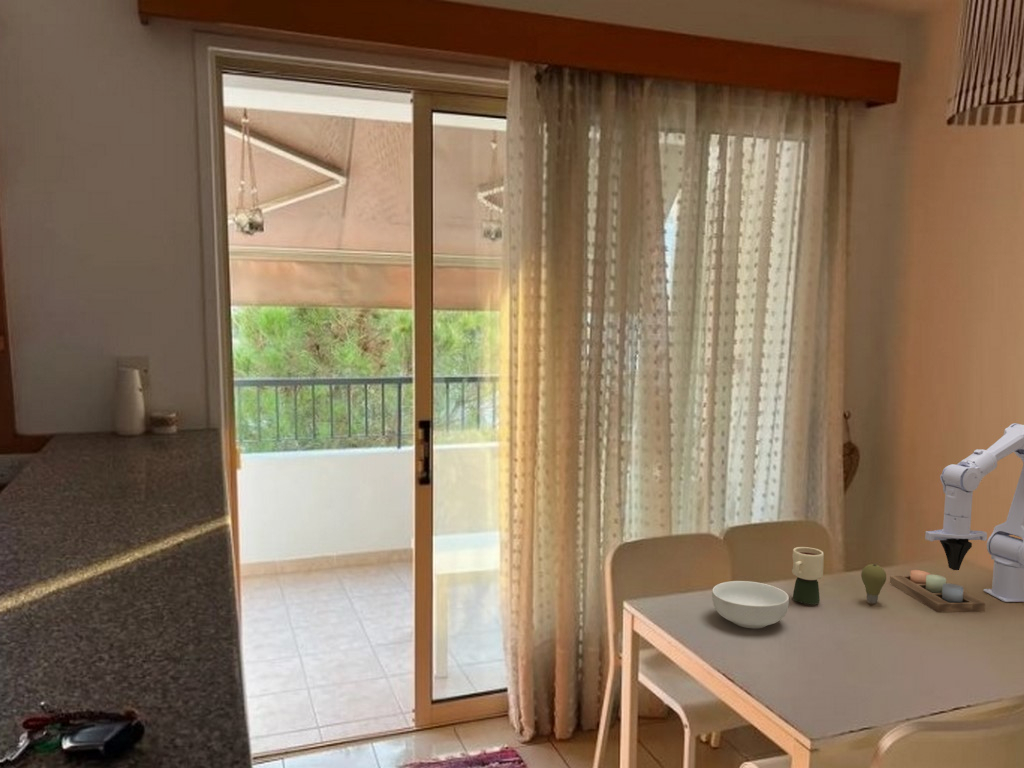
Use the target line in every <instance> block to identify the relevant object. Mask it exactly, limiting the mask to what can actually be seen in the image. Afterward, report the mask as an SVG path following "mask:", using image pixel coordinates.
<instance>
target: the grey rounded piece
mask: <svg viewBox="0 0 1024 768" xmlns="http://www.w3.org/2000/svg"><path fill="white" fill-rule="evenodd" d="M963 592H964V587H963V586H962V585H960V584H956V583H950V582H949V583H948V582H947V583H946V584H943V589H942V599H943V600H945V601H947V602H948V603H962V602H963Z"/></svg>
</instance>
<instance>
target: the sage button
mask: <svg viewBox="0 0 1024 768" xmlns="http://www.w3.org/2000/svg"><path fill="white" fill-rule="evenodd" d="M946 582H947V578H946V577H945V576H942V575H939V574H930V575H927V576H926V590H928V591H929V592H931V593H942V589H943V584H946Z"/></svg>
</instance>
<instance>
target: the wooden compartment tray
mask: <svg viewBox="0 0 1024 768" xmlns="http://www.w3.org/2000/svg"><path fill="white" fill-rule="evenodd" d="M910 576H911V575H890V576H889V584H890V583H891V584H890V585H892V586H893V587H895V586H896V588H897V589H898V588H899V590H900V589H901V590H900V591H902V592H903V591H904V593H905V594H907V595H908V594H909V595H908V596H910V597H912V598H913V599H915V600H917V601H918V602H920V603H921V602H922V603H921V604H922V605H925V606H926V605H927V606H926V607H929V608H930V609H931V610H933V611H935V612H936V613H967V612H968V613H969V612H972V613H973V612H976V613H977V612H985V611H986V603H985V602H984V601H982V600H980V599H979V598H977V597H975V596H973V595H971V594H969V593H967V592H965V591H963V602H962V603H949V602H947V601H945V600H943V599H942V593H931V592H929V591H928V590H926V584H915V583H914V582H912V581H910ZM946 583H948V582H947V581H946Z"/></svg>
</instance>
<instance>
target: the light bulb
mask: <svg viewBox="0 0 1024 768" xmlns="http://www.w3.org/2000/svg"><path fill="white" fill-rule="evenodd" d="M860 575H861V580H862V582H863V585H864V588H865V592H866V601H867V602H868V603H869V605H872V606H874V605H875V604H876V603H878V602H879V601H878V599H879V598H878V597H879V595H880V593H881V590H882V588H883V587H884V585H885V583H886V581H887V573H886V571H885V569H884V568H883V567H882V566H880V565H878V564H877V563H876V564H875V563H870V564H867V565H865V566H864V567H863V568H862V569H861V573H860Z"/></svg>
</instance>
